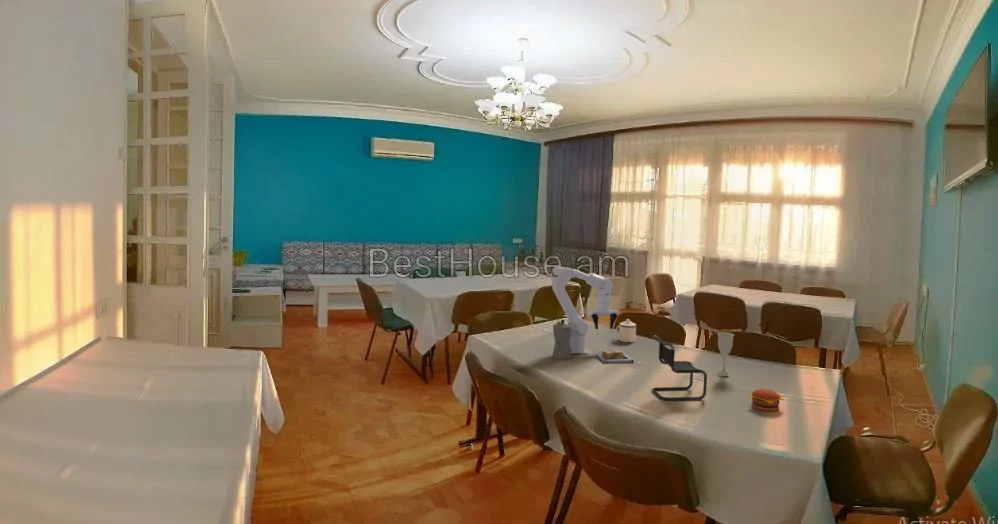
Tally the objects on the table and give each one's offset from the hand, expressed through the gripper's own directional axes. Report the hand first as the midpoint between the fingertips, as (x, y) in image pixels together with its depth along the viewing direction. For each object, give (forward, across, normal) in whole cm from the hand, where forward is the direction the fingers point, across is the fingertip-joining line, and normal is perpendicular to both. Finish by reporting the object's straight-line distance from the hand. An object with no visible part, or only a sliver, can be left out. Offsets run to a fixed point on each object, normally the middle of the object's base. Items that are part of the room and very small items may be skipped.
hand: (603, 328), depth 286 cm
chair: (+10, -8, +70) cm, 71 cm away
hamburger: (+11, -34, +86) cm, 93 cm away
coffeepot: (+10, +24, +12) cm, 29 cm away
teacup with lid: (+11, -18, -18) cm, 27 cm away
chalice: (+11, -38, +47) cm, 62 cm away
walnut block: (+11, +2, +19) cm, 22 cm away
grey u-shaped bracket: (+10, 0, +18) cm, 21 cm away
